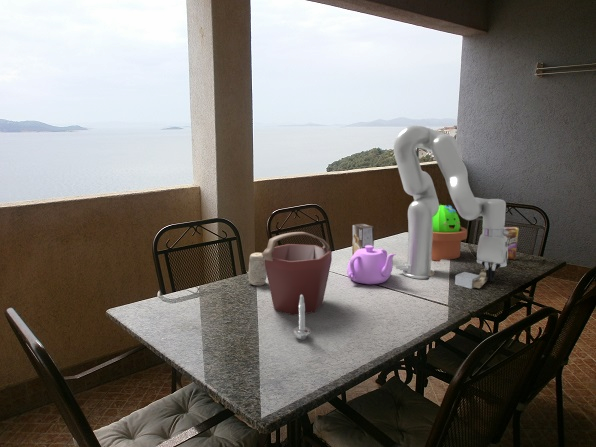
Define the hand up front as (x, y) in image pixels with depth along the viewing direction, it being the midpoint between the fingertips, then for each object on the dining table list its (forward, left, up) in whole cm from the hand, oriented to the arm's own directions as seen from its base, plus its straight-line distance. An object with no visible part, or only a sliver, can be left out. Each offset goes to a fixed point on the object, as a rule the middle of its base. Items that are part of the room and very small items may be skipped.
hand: (490, 279), depth 167 cm
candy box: (+20, +34, -3) cm, 39 cm away
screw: (-72, -43, -3) cm, 84 cm away
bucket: (-74, -18, -3) cm, 76 cm away
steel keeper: (-9, -2, -2) cm, 10 cm away
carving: (-89, +3, -3) cm, 89 cm away
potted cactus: (-7, +41, -3) cm, 41 cm away
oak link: (-2, +2, -1) cm, 3 cm away
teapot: (-44, +6, -3) cm, 44 cm away
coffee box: (-44, +36, -3) cm, 56 cm away
